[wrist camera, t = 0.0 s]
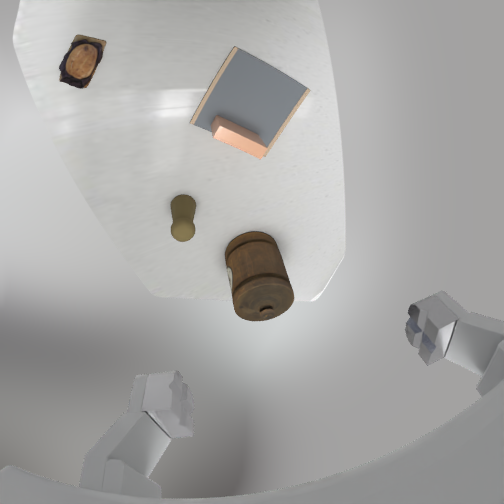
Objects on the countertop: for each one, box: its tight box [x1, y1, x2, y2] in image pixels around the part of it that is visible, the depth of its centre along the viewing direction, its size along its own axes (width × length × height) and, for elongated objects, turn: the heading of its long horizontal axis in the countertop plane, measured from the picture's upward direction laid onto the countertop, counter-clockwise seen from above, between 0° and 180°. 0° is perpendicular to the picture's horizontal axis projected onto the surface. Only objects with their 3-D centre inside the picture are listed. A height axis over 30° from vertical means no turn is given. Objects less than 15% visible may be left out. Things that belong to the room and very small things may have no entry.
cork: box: [171, 195, 196, 242], centre depth 59 cm, size 6×6×11 cm
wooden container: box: [225, 232, 294, 321], centre depth 70 cm, size 15×15×22 cm
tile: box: [211, 115, 268, 159], centre depth 50 cm, size 2×10×8 cm, turn 59°
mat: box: [190, 47, 310, 157], centre depth 49 cm, size 18×18×1 cm
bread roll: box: [59, 35, 106, 88], centre depth 34 cm, size 11×8×4 cm
